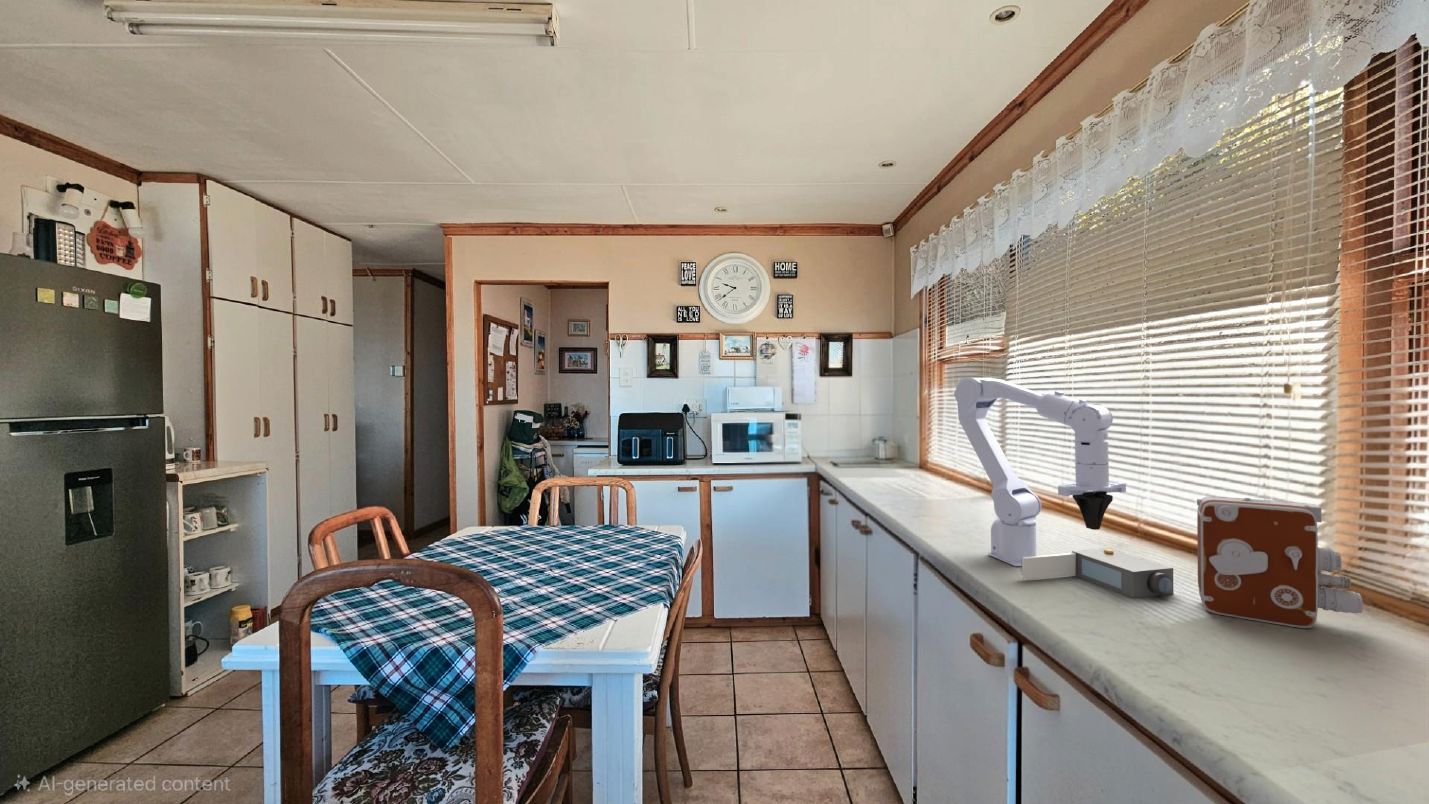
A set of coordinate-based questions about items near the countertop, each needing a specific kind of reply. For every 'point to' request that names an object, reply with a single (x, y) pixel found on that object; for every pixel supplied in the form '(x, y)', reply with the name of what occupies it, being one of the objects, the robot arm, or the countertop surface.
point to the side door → (1048, 566)
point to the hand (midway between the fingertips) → (1092, 528)
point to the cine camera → (1267, 562)
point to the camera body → (1124, 572)
